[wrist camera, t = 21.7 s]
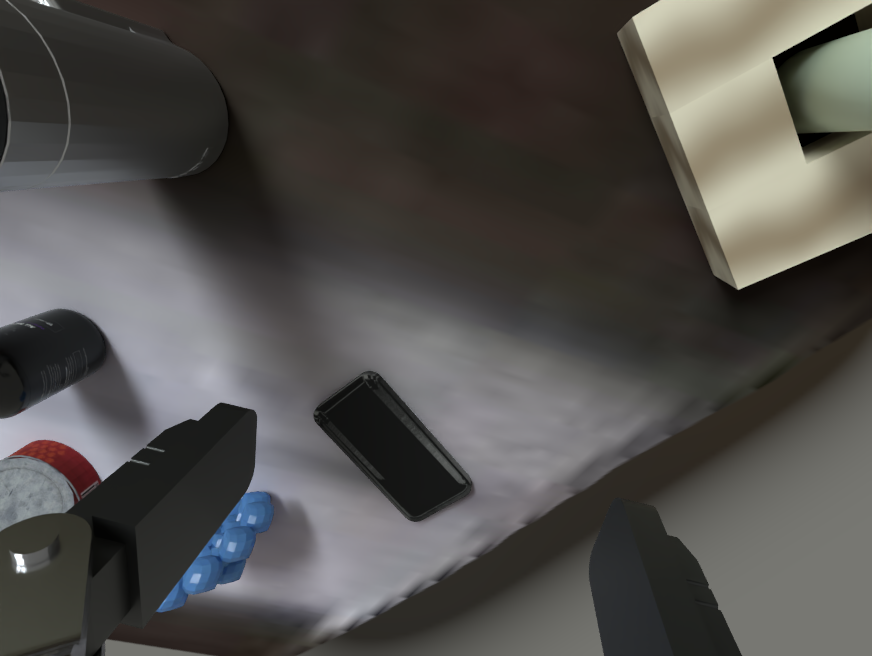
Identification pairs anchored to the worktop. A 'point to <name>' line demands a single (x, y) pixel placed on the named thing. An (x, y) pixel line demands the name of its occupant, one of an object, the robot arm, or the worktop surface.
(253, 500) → the grapes
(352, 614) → the worktop surface
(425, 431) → the phone
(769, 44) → the socket block
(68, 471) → the canned food
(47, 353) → the supplement bottle
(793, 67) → the peg
